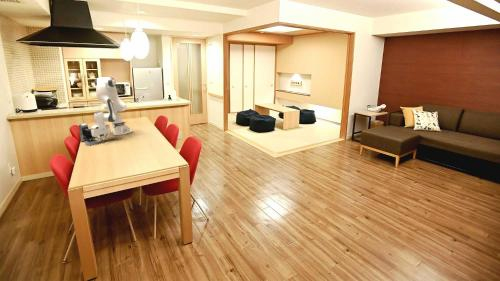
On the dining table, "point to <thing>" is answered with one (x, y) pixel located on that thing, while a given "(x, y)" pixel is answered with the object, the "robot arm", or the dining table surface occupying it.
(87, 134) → the vintage camera
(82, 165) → the dining table surface
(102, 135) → the lens
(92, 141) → the lens mount
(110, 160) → the dining table surface
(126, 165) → the dining table surface
